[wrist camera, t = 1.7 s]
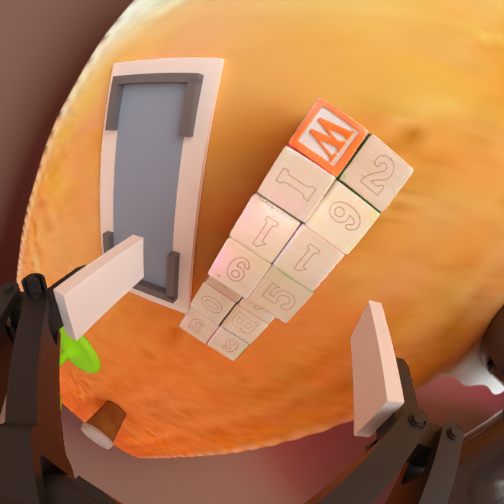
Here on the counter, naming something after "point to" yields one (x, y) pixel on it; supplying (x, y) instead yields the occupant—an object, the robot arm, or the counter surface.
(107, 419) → the disposable coffee cup
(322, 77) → the counter surface
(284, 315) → the stack of blocks
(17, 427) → the robot arm
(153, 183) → the blueprint board
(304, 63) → the counter surface
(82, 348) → the wineglass
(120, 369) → the counter surface
